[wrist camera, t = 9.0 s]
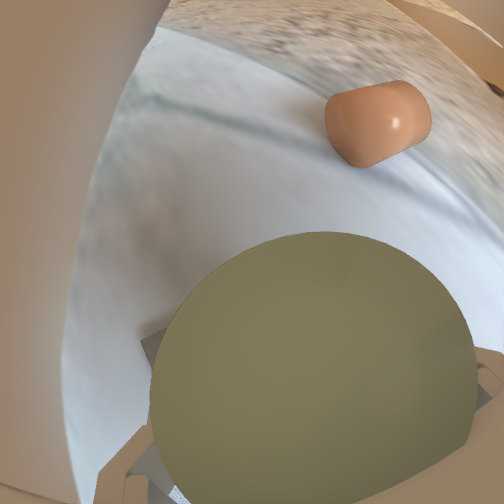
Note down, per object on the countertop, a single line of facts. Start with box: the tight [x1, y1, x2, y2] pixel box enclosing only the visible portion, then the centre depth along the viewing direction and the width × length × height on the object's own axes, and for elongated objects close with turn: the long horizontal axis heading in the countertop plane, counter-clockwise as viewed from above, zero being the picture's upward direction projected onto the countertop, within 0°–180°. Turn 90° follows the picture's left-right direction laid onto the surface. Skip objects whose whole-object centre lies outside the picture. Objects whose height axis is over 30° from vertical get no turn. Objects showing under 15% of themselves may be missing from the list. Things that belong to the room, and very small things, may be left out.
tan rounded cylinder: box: [325, 80, 432, 168], centre depth 20 cm, size 7×6×6 cm
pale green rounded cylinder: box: [150, 232, 478, 504], centre depth 9 cm, size 6×6×11 cm
